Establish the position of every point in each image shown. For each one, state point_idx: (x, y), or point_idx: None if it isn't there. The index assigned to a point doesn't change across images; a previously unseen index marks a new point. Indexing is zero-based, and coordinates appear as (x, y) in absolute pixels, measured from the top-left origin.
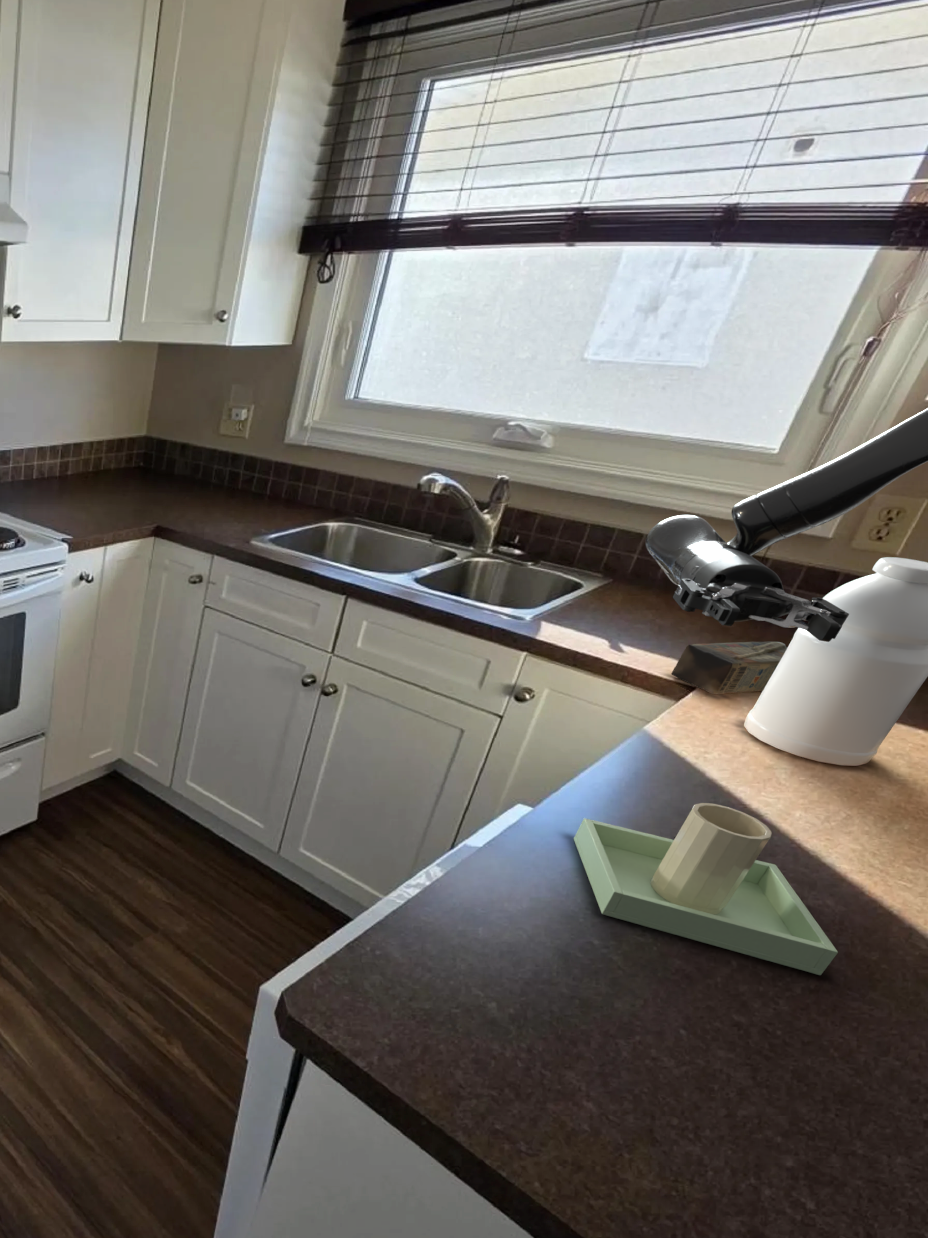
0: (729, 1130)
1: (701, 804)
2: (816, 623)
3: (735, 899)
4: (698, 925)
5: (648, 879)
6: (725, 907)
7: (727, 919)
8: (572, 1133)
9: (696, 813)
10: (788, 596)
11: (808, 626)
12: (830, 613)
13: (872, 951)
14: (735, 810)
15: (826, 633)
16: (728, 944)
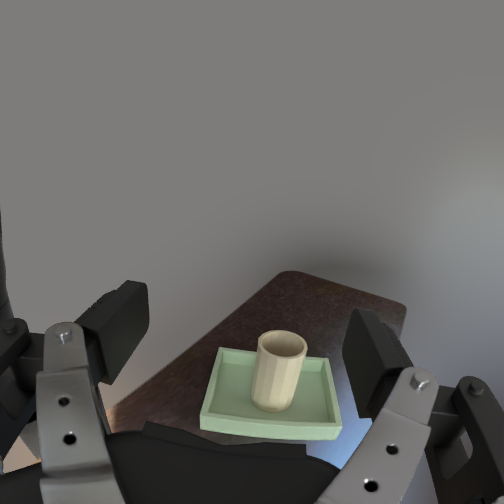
0: (295, 301)
1: (298, 355)
2: (118, 337)
3: (237, 402)
4: None
5: (292, 405)
6: (248, 392)
7: None
8: (336, 294)
9: (305, 344)
10: (92, 414)
11: (96, 386)
12: (58, 324)
13: (168, 382)
14: (274, 355)
15: (147, 306)
16: None
